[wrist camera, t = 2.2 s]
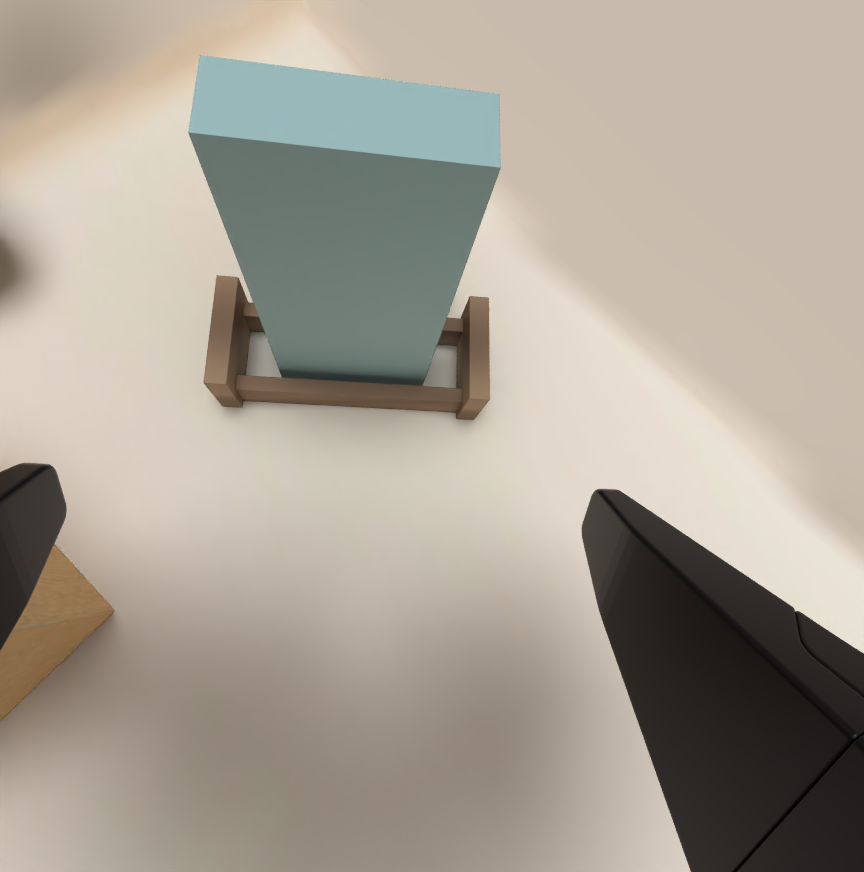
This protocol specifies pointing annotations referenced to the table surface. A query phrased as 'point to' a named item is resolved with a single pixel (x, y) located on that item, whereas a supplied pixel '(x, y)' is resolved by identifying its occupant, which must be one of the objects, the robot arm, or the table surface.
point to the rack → (235, 387)
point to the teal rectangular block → (346, 208)
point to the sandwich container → (48, 628)
